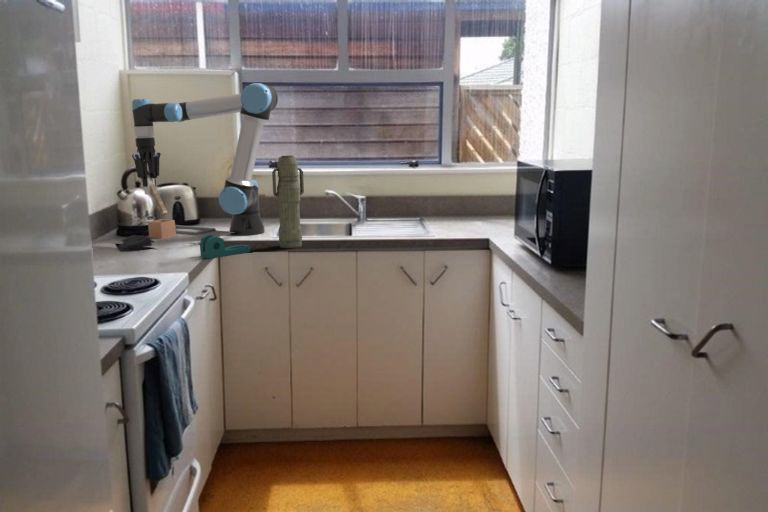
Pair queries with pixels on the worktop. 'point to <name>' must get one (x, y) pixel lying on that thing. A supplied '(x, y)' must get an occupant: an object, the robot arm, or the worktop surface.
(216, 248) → the bracket
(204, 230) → the charcoal tray
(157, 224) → the orange open cube box
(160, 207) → the beech stick
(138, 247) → the dark slate chunk
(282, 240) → the thermos
